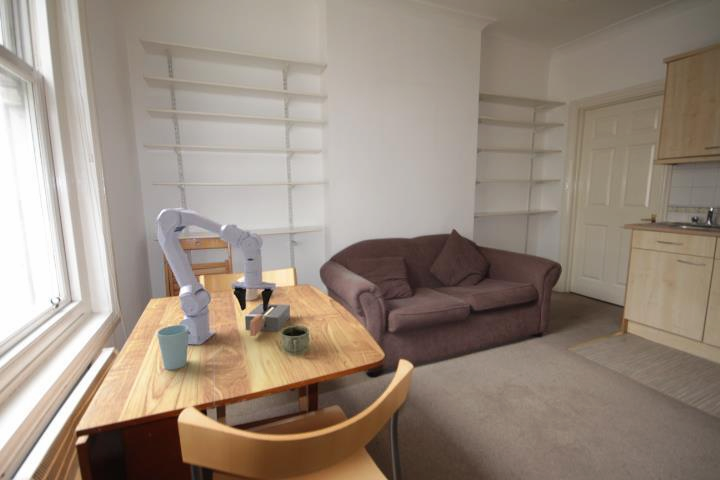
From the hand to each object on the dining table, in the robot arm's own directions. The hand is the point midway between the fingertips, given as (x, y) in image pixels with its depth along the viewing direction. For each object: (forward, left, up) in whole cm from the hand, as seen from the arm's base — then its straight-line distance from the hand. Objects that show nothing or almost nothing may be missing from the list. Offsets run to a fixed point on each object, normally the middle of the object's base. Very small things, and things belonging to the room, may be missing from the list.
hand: (254, 309), depth 112 cm
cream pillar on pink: (+7, 0, -8) cm, 11 cm away
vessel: (-8, -16, -10) cm, 21 cm away
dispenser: (+12, 0, -9) cm, 15 cm away
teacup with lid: (+39, +20, -10) cm, 45 cm away
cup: (-21, +15, -10) cm, 27 cm away
